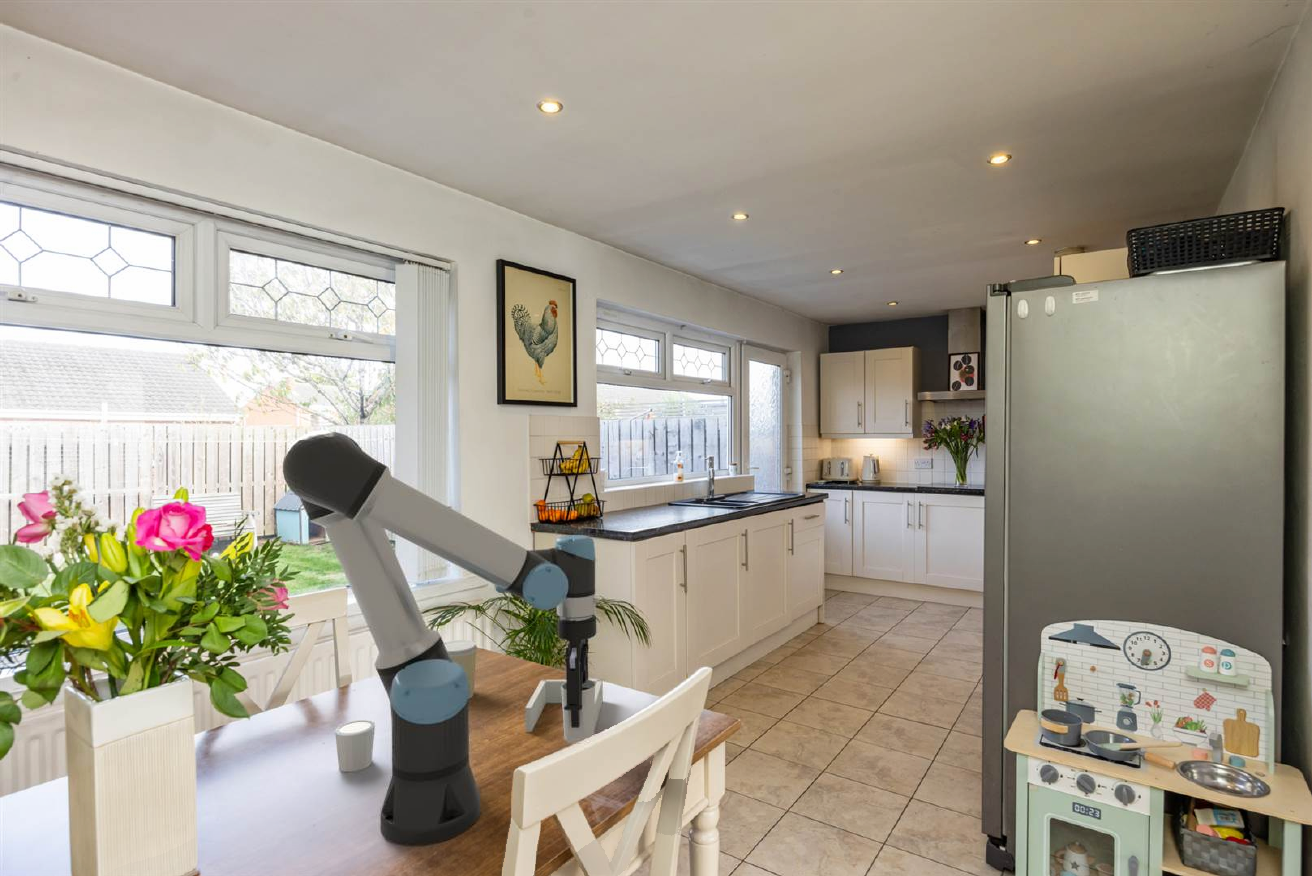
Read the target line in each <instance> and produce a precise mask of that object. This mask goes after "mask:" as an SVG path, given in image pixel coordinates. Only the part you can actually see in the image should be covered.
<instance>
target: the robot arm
mask: <svg viewBox="0 0 1312 876" xmlns="http://www.w3.org/2000/svg"><path fill="white" fill-rule="evenodd" d="M282 473H283V479H284V480H285V483H286V485H287V487H288V488H289V490H290V491H291V492H292V493H294V495H295V496H297V497H298V498H299V499H300V502H301V505H302V506H303V508H304V510H305V513H306V515H307V517H308V519H309V521H310V523H313V524H316V525H318V526H321V527H322V528H324V531H325V533H326V535H327V537H328V540H329V541H330V544H331V546H332V549H333V551H334V553H335V555H336V558H337V559H338V562H339V564H340V566H341V569H342V571H343V573H344V575H345V578H346V580H347V582H348V585H349V587H350V589H351V591H352V594H353V596H354V598H355V600H356V603H357V605H358V607H359V609H360V613H361V614H362V615H363V616H362V617H363V619H364V621H365V623H366V625H367V627H368V629H369V632H370V635H371V636H372V638H373V640H374V643H375V646H376V647H377V650H378V655H377V657H376V659H375V662H374V667H375V670H376V672H377V674H378V676H379V679H380V681H381V683H382V685H383V687H384V690H385V692H386V695H387V697H388V699H389V706H390V717H391V720H390V721H391V766H392V767H391V768H392V769H391V771H392V772H391V778H390V781H389V784H388V788H387V791H386V795H385V797H384V800H383V803H382V807H381V810H380V815H379V816H380V817H379V818H380V820H379V821H380V827H379V829H380V832H381V835H382V836H383V837H384V838H385V839H386V840H388V841H389V842H392V843H394V844H398V845H403V846H425V845H426V846H427V845H431V844H435V843H436V844H437V843H441V842H444V841H446V840H449V839H452V838H454V837H457V836H459V835H460V834H463V833H464V832H465V831H467V830H468V829H469V828H471V827H472V826H473V825H474V824H475V823H476V822H477V821H478V819H479V817H480V815H481V810H482V807H481V805H482V804H481V793H480V790H479V788H478V785H477V783H476V779H475V777H474V774H473V771H472V768H471V765H470V751H469V750H470V743H469V742H470V739H469V737H470V733H469V732H470V731H469V730H470V729H469V725H470V724H469V699H468V698H469V691H470V688H469V682H468V676H467V673H466V671H465V669H464V668H463V667H462V666H461V665H459V664H458V663H455V662H453V661H452V659H451V658H450V657H449V654H448V652H447V650H446V647H445V645H444V643H445V642H444V640H443V638H442V636H441V634H440V632H439V631H438V630H437V631H436V630H433V629H431V628H429V627H427V625H426V622H425V620H424V617H423V615H422V613H421V611H420V608H419V606H418V603H417V602H416V601H417V600H416V599H415V596H414V594H413V592H412V590H411V587H410V585H409V583H408V580H407V578H406V575H405V573H404V571H403V569H402V567H401V564H400V562H399V558H398V557H397V556H396V552H395V550H394V548H393V545H392V544H391V543H392V542H391V541H390V538H389V536H388V534H387V532H386V531H388V532H391V533H393V534H395V535H397V536H398V537H399V538H402V539H404V540H406V541H408V542H410V543H412V544H414V545H416V546H418V547H419V548H422V549H423V550H426V551H428V552H429V553H432V554H434V555H436V556H437V557H440V558H442V559H443V560H446V561H448V562H450V563H451V564H453V565H455V566H458V567H459V568H461V569H463V570H465V571H467V572H469V573H471V574H473V575H475V576H477V577H479V578H481V579H483V580H485V581H487V582H489V583H491V584H493V587H494V589H495V591H496V592H497V593H499V594H512V595H514V596H516V597H518V598H520V599H522V600H523V601H525V602H526V603H527V605H529V606H530V607H533V608H535V609H537V610H541V611H549V610H552V609H555V608H556V615H557V616H558V618H557V622H556V623H557V636H558V638H559V639H561V640H566V641H568V644H567V647H565V661H564V662H565V672H566V673H565V675H566V677H565V678H566V679H565V680H566V688H567V705H566V706H565V707H564V710H568V715H569V742H568V744H577V743H576V742H579V741H582V740H584V728H583V708H582V684H584V683H585V682H586V680H589V648H590V647H589V646H590V645H589V640H590V639H592V638H594V637H595V636H596V635H597V616H596V615H595V614H596V612H597V610H596V608H597V604H599V602H600V599H599V598H597V597H596V561H597V558H596V548H595V541H594V539H593V538H592V537H590V536H589V535H584V534H582V535H581V534H571V535H563V536H558V537H557V538H556V541H555V545H554V547H551V548H546V549H543V548H542V549H532V550H531V549H530V550H529V549H528V550H527V548H524V547H523V546H521V545H519V544H517V543H515V542H514V541H511V540H509V539H508V538H507V537H505V536H502V535H500V534H499V533H496V532H495V531H493V530H491V529H489V528H488V527H485V525H482V524H480V523H478V522H477V521H474V520H473V519H471V518H469V517H467V516H466V515H464V514H462V513H460V512H458V511H456V510H454V509H452V508H451V507H449V506H447V505H445V504H443V503H441V502H439V501H438V500H436V499H434V498H433V497H430V496H429V495H427V494H425V493H424V492H422V491H419V490H418V489H416V488H414V487H413V486H410V485H408V484H406V483H404V482H403V481H402V480H399V479H397V478H396V477H394V476H393V475H392V473H391V470H390V467H388V466H387V465H385V464H383V462H379V460H376V459H375V458H373V457H371V456H370V455H369V454H368V453H366V452H365V451H363V449H362V447H361V446H360V445H359V444H358V443H357V442H356V441H355V440H354V439H353V438H352V437H350V436H348V435H346V434H344V433H341V432H338V431H330V430H318V431H312V432H309V433H307V434H304V435H302V436H301V437H299V438H297V440H294V442H293V443H292V444H291V445H290V446H289V448H288V449H287V451H286V453H285V455H284V458H283V462H282Z"/></svg>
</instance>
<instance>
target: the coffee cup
mask: <svg viewBox="0 0 1312 876" xmlns="http://www.w3.org/2000/svg"><path fill="white" fill-rule="evenodd" d="M443 643H444V645H445V647H446V650H447V652H448V654H449V657H450V658H451V659H452V661H453V662H455V663H458V664H459V665H461V666H462V667H463V668H464V669H465V671H466V673H467V676H468V682H469V688H470V691H469V698H468V700H469V699H471V698H472V697H473V696H474V693H475V680H476V678H475V677H476V662H477V661H476V659H477V649H478V647H477V645H476V643H475V642H474V641H471V640H463V639H462V640H460V639H459V640H451V641H447V642H443Z"/></svg>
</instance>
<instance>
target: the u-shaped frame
mask: <svg viewBox="0 0 1312 876" xmlns="http://www.w3.org/2000/svg"><path fill="white" fill-rule="evenodd" d="M590 680H591V681H593V682H594V683H595V711H594V732H595V730H596V726H597V725H598V724H597V723H598V720H599V716H600V713H601V708H602V705H603V701H604V697H603V696H604V695H603V694H604V691H603V679H590ZM564 682H566V679H540V681H539V683H538V685H537V686H536V688H535V691H534V692H533V693H532V696H531V697H530V699H529V701H528V702H527V704H526V706H525V710H524V711H525V733H532V732H533V730H534V727H535V726H536V724H537V722H538V719H539V718H540V716H541V714H542V712H543V711H544V708H545V706H546V704H562V692H561V685H562V684H563V683H564Z"/></svg>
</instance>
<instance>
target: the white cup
mask: <svg viewBox="0 0 1312 876" xmlns="http://www.w3.org/2000/svg"><path fill="white" fill-rule="evenodd" d="M591 680H592V679H588V680H586V682H585V683H584V684H582V708H583V728H584V739H585V738H589V737H591V736H592V735H594V736H595V731H594V711H595V683H594V682H593V681H591ZM561 692H562V703H561V705H562V707H561V708H562V720H563V721H562V722H563V737H564V740H565V741H566V742H568V743H569V715H568V710H564V707H565V706H566V705H567V688H566V682H564V683H563V684H562V685H561Z"/></svg>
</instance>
